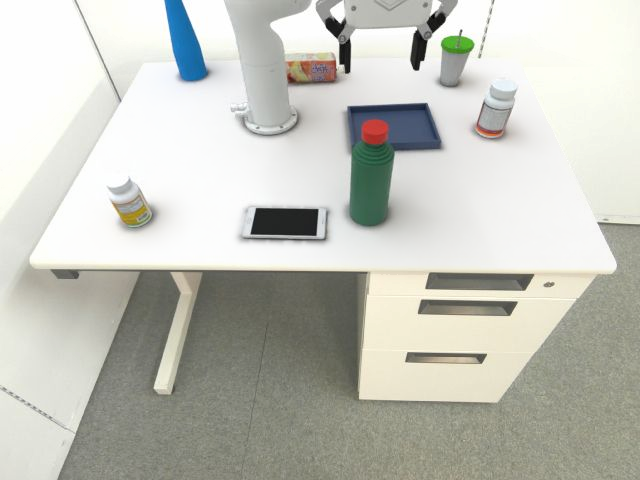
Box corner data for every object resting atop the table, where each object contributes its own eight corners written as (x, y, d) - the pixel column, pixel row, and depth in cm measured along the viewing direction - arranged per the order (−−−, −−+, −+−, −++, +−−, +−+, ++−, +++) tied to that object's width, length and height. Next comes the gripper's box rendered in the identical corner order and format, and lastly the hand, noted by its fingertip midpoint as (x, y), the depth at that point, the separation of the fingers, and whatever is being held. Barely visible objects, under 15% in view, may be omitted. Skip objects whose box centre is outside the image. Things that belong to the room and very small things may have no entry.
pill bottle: (485, 120, 94) (500, 73, 85) (508, 131, 91) (526, 84, 82) (469, 130, 92) (483, 83, 83) (492, 142, 88) (509, 95, 80)
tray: (351, 152, 88) (352, 144, 86) (347, 113, 98) (347, 105, 96) (439, 148, 88) (441, 141, 86) (426, 110, 98) (427, 102, 96)
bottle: (175, 79, 111) (133, -53, 88) (189, 66, 115) (152, -63, 92) (199, 83, 109) (162, -51, 86) (211, 70, 114) (180, -61, 90)
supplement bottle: (127, 208, 79) (105, 170, 71) (154, 206, 79) (135, 168, 71) (120, 229, 75) (97, 191, 68) (149, 226, 75) (129, 188, 68)
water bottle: (350, 226, 74) (354, 143, 60) (348, 200, 78) (350, 117, 64) (388, 225, 74) (401, 141, 60) (383, 198, 78) (394, 115, 64)
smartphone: (248, 206, 77) (326, 207, 76) (249, 208, 77) (326, 210, 77) (241, 236, 72) (324, 237, 71) (242, 238, 73) (324, 240, 72)
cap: (362, 145, 62) (363, 135, 60) (360, 129, 64) (360, 119, 63) (389, 144, 62) (390, 134, 60) (385, 128, 64) (386, 118, 63)
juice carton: (335, 71, 111) (335, 47, 106) (336, 84, 107) (336, 59, 101) (258, 75, 111) (255, 50, 106) (257, 87, 107) (253, 62, 102)
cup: (445, 71, 109) (458, 12, 97) (470, 82, 105) (486, 21, 94) (427, 82, 106) (438, 22, 94) (452, 93, 102) (467, 32, 90)
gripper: (310, -83, 39) (317, 84, 52) (490, -92, 39) (451, 78, 52) (309, -100, 44) (316, 57, 57) (469, -108, 44) (438, 52, 57)
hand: (380, 67), depth 54 cm, fingers open, 8 cm apart
